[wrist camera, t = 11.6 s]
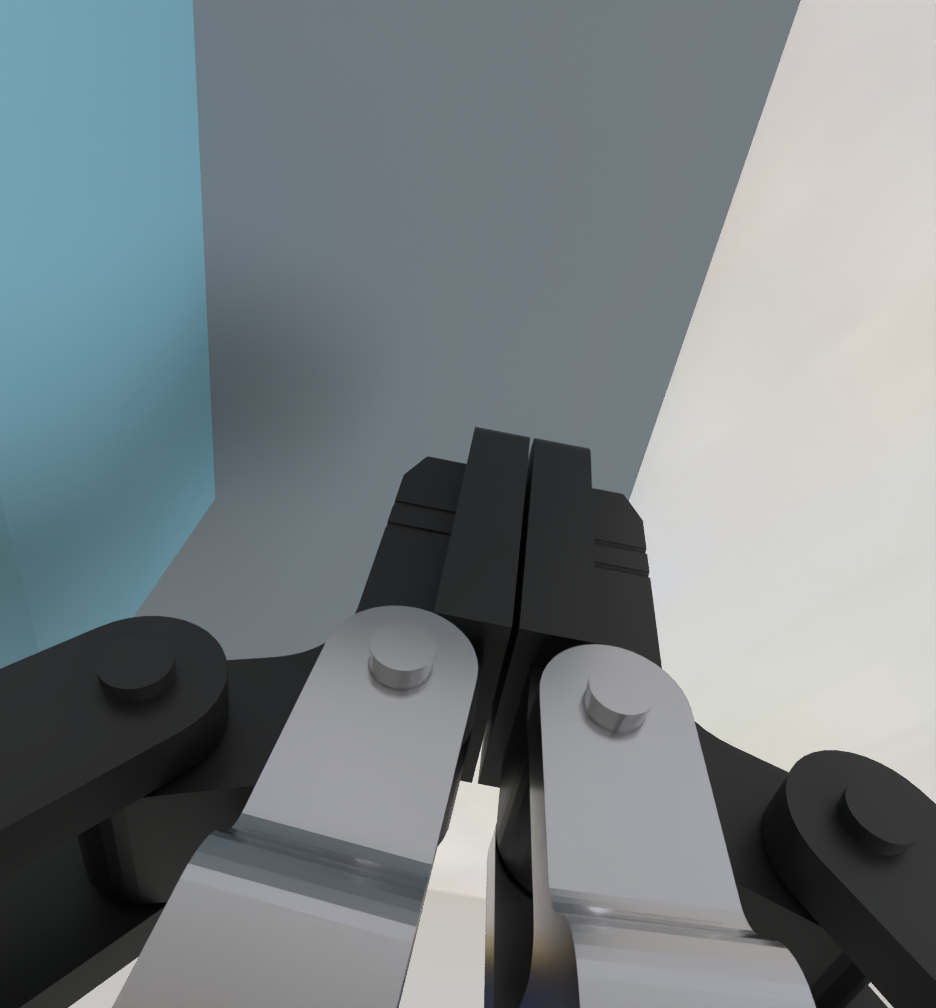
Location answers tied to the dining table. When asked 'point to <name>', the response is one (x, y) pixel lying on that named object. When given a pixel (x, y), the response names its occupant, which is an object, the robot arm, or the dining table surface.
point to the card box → (98, 312)
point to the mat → (440, 259)
